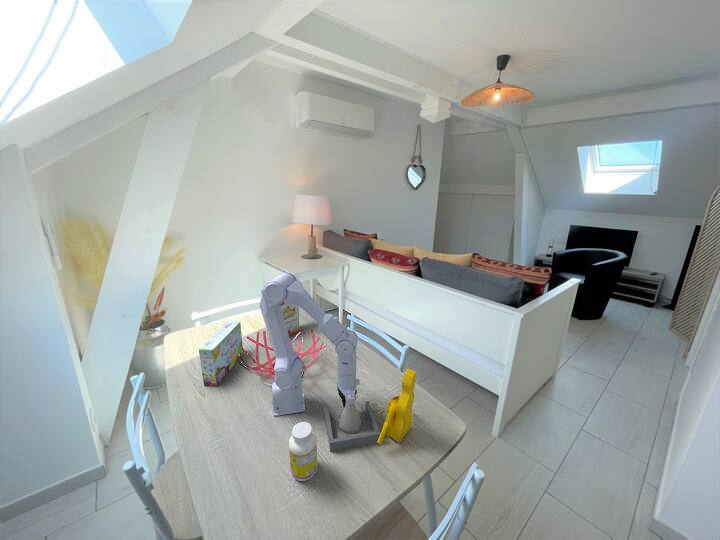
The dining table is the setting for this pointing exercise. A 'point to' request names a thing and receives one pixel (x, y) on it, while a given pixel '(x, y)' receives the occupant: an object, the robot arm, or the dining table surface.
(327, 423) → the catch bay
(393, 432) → the figure statuette
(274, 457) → the dining table surface
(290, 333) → the cracker box
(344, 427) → the flask
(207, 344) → the snack box
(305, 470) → the supplement bottle
